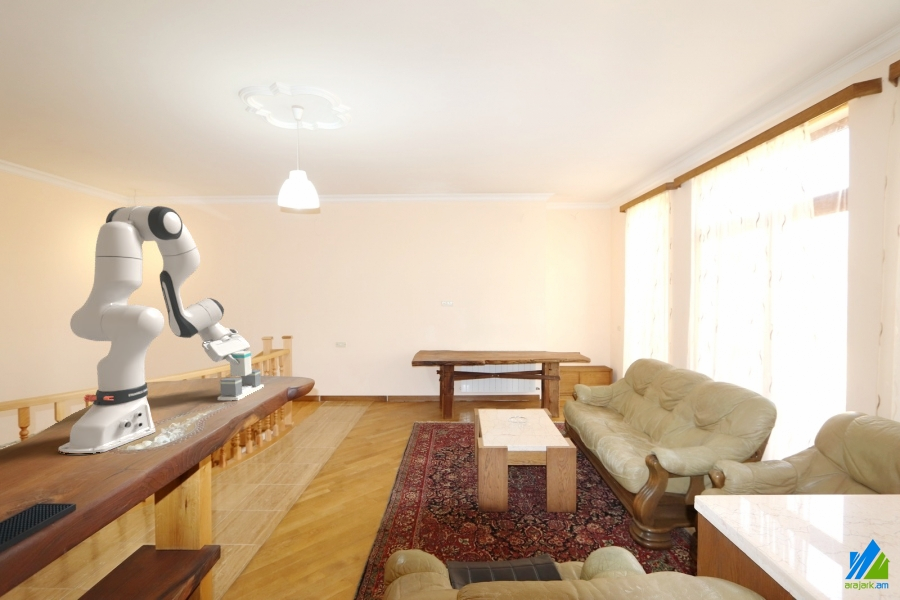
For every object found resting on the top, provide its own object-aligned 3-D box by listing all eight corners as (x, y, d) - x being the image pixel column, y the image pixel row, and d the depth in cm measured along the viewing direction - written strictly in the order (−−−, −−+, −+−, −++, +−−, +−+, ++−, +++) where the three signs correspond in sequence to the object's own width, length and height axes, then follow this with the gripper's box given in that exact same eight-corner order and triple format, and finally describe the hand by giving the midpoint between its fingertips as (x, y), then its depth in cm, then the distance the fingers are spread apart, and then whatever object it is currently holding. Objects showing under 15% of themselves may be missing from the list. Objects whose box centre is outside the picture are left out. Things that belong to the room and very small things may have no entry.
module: (245, 376, 158) (244, 353, 157) (230, 375, 159) (229, 353, 158) (251, 373, 163) (250, 351, 162) (237, 372, 163) (236, 351, 162)
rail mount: (237, 400, 152) (236, 380, 151) (217, 400, 152) (216, 380, 152) (263, 387, 169) (263, 369, 169) (245, 386, 170) (245, 369, 170)
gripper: (204, 337, 150) (230, 363, 149) (238, 328, 170) (261, 351, 170) (194, 348, 150) (220, 374, 150) (229, 339, 171) (252, 362, 170)
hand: (242, 362), depth 160 cm, fingers closed on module, 4 cm apart
